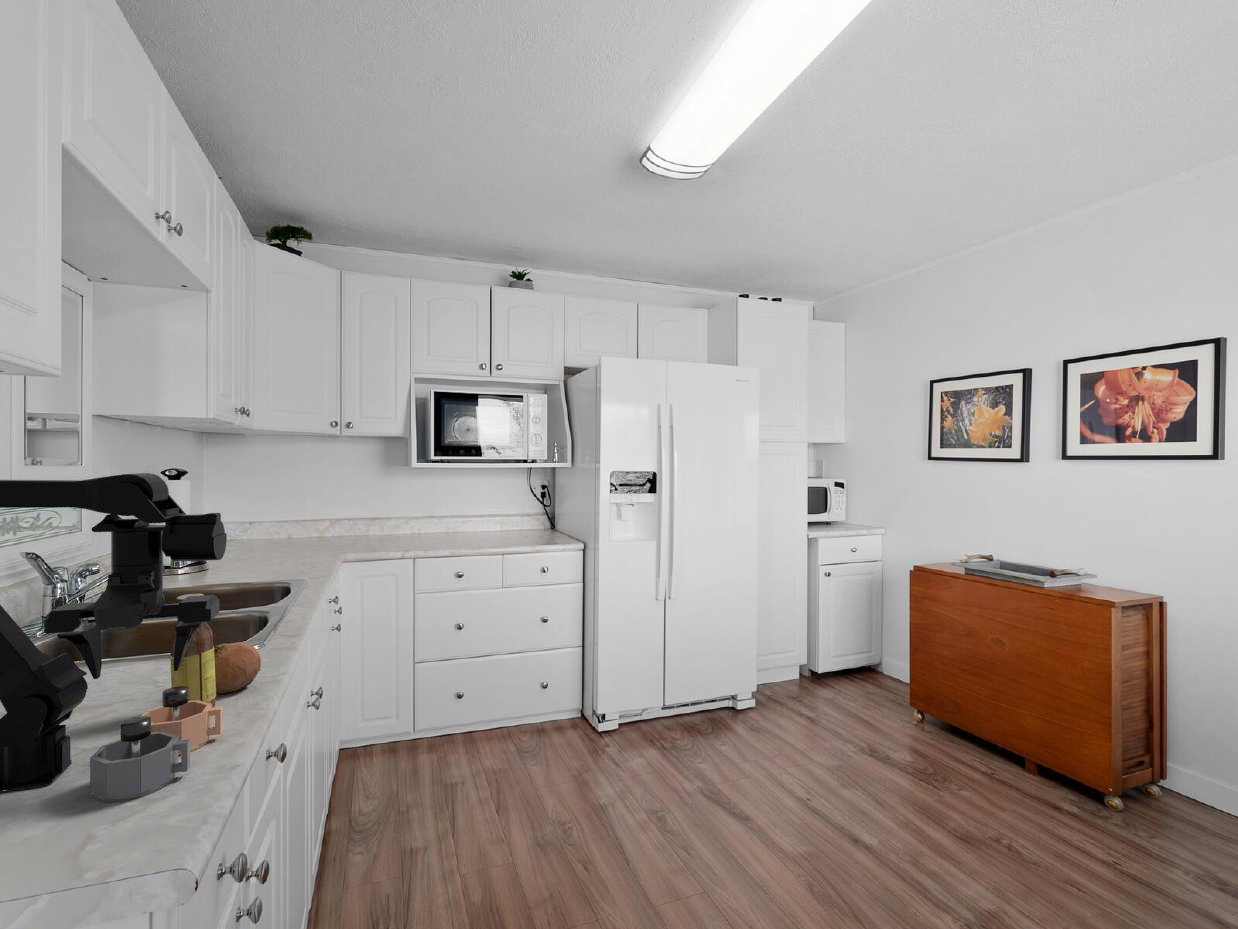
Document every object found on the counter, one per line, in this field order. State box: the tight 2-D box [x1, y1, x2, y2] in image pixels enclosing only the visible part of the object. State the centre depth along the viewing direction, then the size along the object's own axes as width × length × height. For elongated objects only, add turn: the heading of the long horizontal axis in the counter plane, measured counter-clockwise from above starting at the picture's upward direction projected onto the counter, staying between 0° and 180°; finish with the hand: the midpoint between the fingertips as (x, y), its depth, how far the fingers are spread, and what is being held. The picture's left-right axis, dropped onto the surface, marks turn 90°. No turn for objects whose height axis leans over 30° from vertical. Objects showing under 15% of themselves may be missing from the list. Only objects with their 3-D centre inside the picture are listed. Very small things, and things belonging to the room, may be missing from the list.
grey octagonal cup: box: [89, 731, 191, 803], centre depth 83 cm, size 10×9×5 cm
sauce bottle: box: [169, 593, 217, 708], centre depth 107 cm, size 7×6×20 cm
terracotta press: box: [140, 700, 224, 757], centre depth 94 cm, size 10×9×5 cm
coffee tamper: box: [120, 716, 151, 758], centre depth 83 cm, size 6×6×8 cm
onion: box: [214, 641, 262, 694], centre depth 116 cm, size 10×9×10 cm
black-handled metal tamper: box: [161, 686, 189, 721], centre depth 94 cm, size 6×6×8 cm
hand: (137, 674), depth 87 cm, fingers open, 9 cm apart
